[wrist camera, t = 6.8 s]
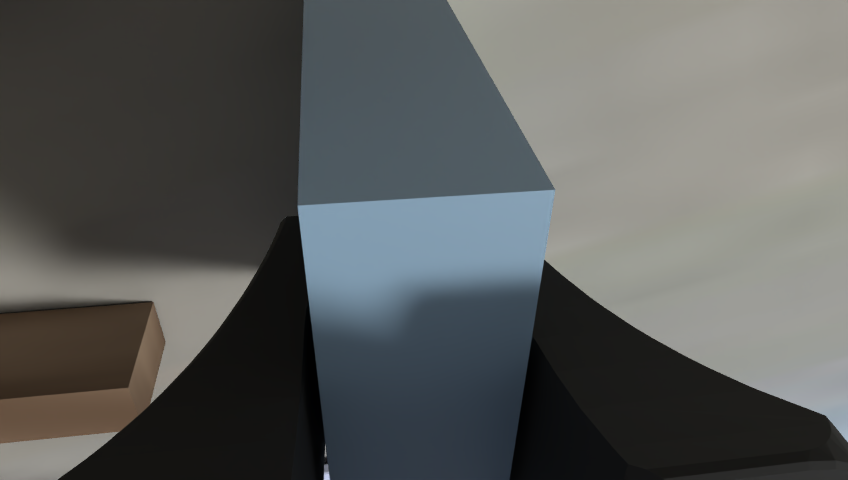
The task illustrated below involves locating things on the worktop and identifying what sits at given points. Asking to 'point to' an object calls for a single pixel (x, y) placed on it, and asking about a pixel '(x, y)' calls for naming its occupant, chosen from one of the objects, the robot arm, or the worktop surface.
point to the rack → (77, 370)
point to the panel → (415, 243)
